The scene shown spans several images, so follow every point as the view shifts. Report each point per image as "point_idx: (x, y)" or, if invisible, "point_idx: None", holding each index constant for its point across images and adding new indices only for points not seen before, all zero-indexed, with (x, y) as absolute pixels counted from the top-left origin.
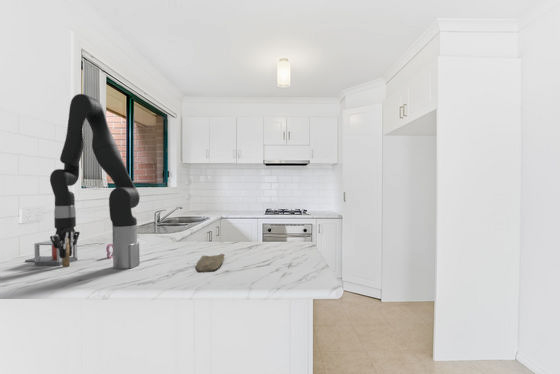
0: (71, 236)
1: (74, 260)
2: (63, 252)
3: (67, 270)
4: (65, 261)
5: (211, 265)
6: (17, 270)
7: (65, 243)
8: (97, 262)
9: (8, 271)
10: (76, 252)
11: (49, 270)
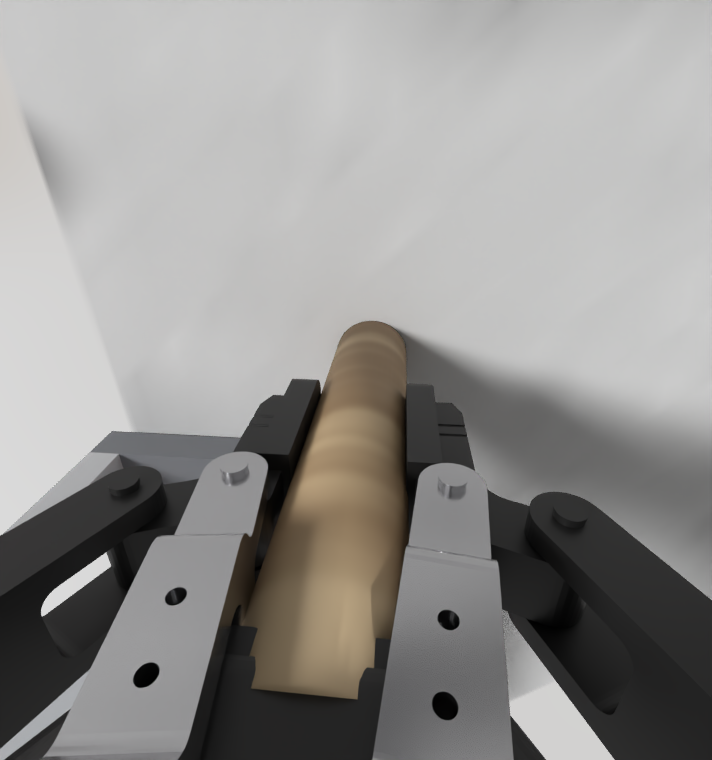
0: (155, 707)
1: (147, 436)
2: (440, 442)
3: (571, 179)
4: (401, 364)
5: None
6: (515, 639)
7: (434, 552)
8: (108, 70)
9: (541, 669)
10: (63, 488)
11: (543, 404)
